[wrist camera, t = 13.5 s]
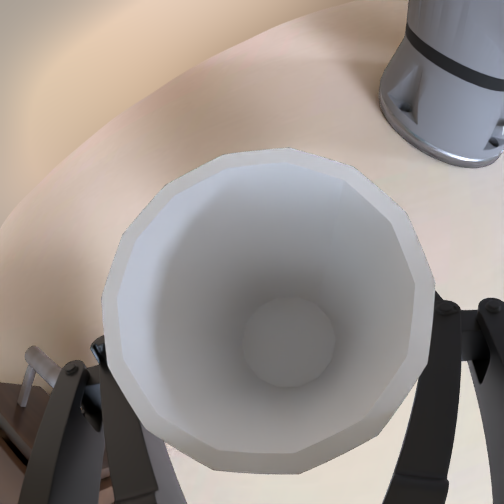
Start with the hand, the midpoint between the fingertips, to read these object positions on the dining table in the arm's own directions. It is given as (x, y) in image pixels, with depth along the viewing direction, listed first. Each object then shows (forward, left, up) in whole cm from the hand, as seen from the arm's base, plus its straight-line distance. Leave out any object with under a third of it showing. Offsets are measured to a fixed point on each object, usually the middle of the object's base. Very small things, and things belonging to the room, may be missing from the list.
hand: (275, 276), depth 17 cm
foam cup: (+3, +2, -5) cm, 6 cm away
